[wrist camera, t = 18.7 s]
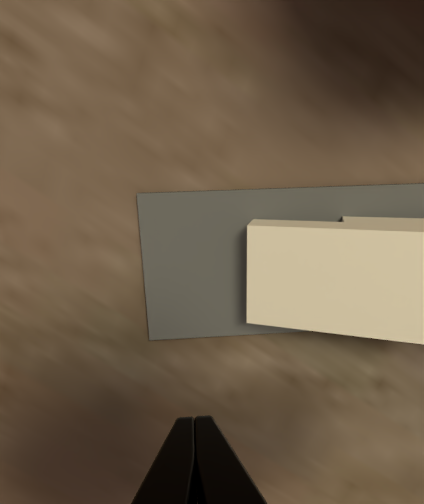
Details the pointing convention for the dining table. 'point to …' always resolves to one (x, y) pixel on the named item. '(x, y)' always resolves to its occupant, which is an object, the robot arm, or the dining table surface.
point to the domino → (337, 277)
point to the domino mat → (234, 247)
